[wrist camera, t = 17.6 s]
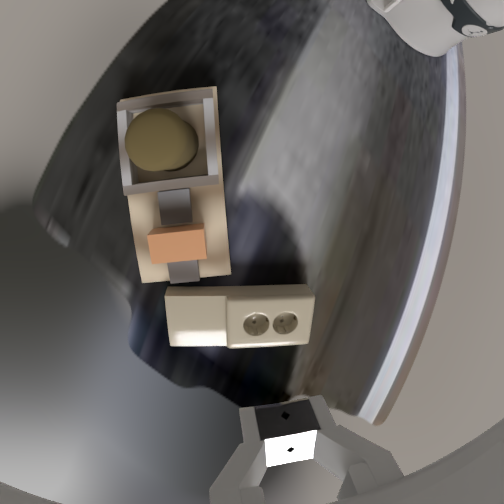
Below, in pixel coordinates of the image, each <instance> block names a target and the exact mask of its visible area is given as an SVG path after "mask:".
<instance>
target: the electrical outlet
mask: <svg viewBox="0 0 504 504" xmlns="http://www.w3.org/2000/svg"><path fill="white" fill-rule="evenodd" d="M314 303H315V295H314V294H313V292H312V291H311V290H310V288H309V287H308V286H307V284H294V285H261V286H203V287H167V290H166V293H165V305H166V314H167V323H168V332H169V340H170V346H227V347H228V348H252V347H271V346H286V345H299V344H307V343H309V338H310V332H311V325H312V318H313V311H314Z"/></svg>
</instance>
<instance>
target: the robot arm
mask: <svg viewBox="0 0 504 504" xmlns="http://www.w3.org/2000/svg"><path fill="white" fill-rule="evenodd" d="M367 3H368V4H369V6H370V7H371V8H373V9H374V10H375V11H376V12H378V13H379V14H380V15H382V16H383V17H384V18H385V19H386V20H387V21H388V23H389V24H390V25H391V27H392V28H393V29H394V30H395V32H396V33H397V34H398V35H399V36H400V37H401V38H402V39H403V40H404V41H405V42H406V43H408V44H409V45H410V46H411V47H413V48H414V49H416V50H417V51H419V52H421V53H423V54H426V55H429V56H434V57H437V56H442V55H444V54H446V53H447V52H448V51H449V50H450V49H451V48H452V47H453V46H455V45H456V44H458V43H460V42H461V41H463V40H465V39H467V38H469V37H477V36H482V35H485V34H490V33H493V32H496V31H500V30H502V29H503V28H504V0H367ZM239 410H240V419H241V426H242V433H243V440H244V443H241V444H239V446H238V448H237V449H236V450H235V452H234V454H233V455H232V457H231V458H230V460H229V461H228V463H227V464H226V466H225V467H224V469H223V470H222V472H221V473H220V474H219V476H218V477H217V479H216V480H215V482H214V483H213V485H212V486H211V488H210V489H209V491H210V492H209V494H210V504H265V499H264V494H263V490H262V488H260V487H258V486H259V484H260V482H261V480H262V477H263V475H264V473H265V471H266V469H267V466H272V465H278V464H283V463H288V462H293V461H299V460H304V459H309V458H313V459H314V460H315V461H316V462H318V463H319V464H320V465H321V466H323V467H324V468H325V469H327V470H328V471H329V472H331V473H332V474H333V475H335V476H336V477H337V478H339V479H340V480H341V481H343V484H342V486H341V489H340V491H339V493H338V496H337V499H338V501H335V502H332V503H329V504H504V419H502V420H501V421H499V422H498V423H497V424H495V425H494V426H492V427H491V428H490V429H488V430H487V431H485V432H484V433H482V434H481V435H479V436H478V437H477V438H475V439H473V440H472V441H470V442H469V443H467V444H465V445H464V446H462V447H461V448H459V449H457V450H455V451H454V452H452V453H450V454H448V455H447V456H445V457H443V458H441V459H439V460H437V461H436V462H434V463H432V464H430V465H428V466H426V467H424V468H422V469H420V470H418V471H416V472H413V473H411V474H409V475H407V476H405V477H404V475H403V473H402V472H401V470H400V468H399V467H398V465H397V463H396V461H395V459H394V458H393V456H392V454H391V452H390V451H388V450H386V449H384V448H382V447H380V446H378V445H376V444H374V443H372V442H371V441H368V440H367V439H365V438H363V437H361V436H359V435H357V434H356V433H354V432H352V431H350V430H348V429H347V428H344V427H343V426H341V425H338V426H336V424H335V422H334V420H333V417H332V415H331V413H330V411H329V409H328V407H327V404H326V402H325V400H324V398H323V396H322V395H318V396H313V397H309V398H303V399H298V400H294V401H288V402H282V403H278V404H271V405H263V406H254V407H246V408H239ZM0 504H61V503H57V502H54V501H51V500H47V499H44V498H41V497H38V496H35V495H32V494H29V493H27V492H24V491H22V490H19V489H17V488H14V487H12V486H9V485H7V484H5V483H2V482H0Z"/></svg>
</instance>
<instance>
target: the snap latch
mask: <svg viewBox="0 0 504 504" xmlns="http://www.w3.org/2000/svg"><path fill="white" fill-rule="evenodd" d="M147 239H148V245H149V251H150V257H151V262H152V264H159V263H169V262H179V261H189V260H199V259H207V244H206V235H205V226H204V223H200V224H190V225H181V226H172V227H163V228H155V229H152V230H151V231H150V232H149V234H148V235H147Z"/></svg>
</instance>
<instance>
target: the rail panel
mask: <svg viewBox="0 0 504 504" xmlns="http://www.w3.org/2000/svg"><path fill="white" fill-rule="evenodd" d="M154 108H164V109H169V110H171V111H173V112H174V113H176V114H178V116H179V117H180V118H181V119H182V120H184V121H186V122H187V123H189V124H190V125H191V126H192V127H193V128H194V129H195V131H196V133H197V135H198V140H199V147H198V152H197V155H196V156H195V158H194V160H193V161H192V162H191V163H190V164H189V165H188V166H187V167H185V168H183V169H181V170H178V171H171V172H169V171H164V170H161V171H154V172H153V171H148V170H143V169H142V168H140V167H138V166H136V165H135V164H134V163H133V162H132V161H131V159H130V158H129V157H128V154H127V152H126V149H125V140H124V139H125V134H126V130H127V128H128V126H129V125H130V123H131V121H132V120H133V119H134V118H135V117H136V116H137V115H138V114H140V113H142V112H144V111H146V110H148V109H154ZM117 122H118V139H119V152H120V164H121V174H122V183H123V192H124V196H126V195H128V202H129V209H130V216H131V223H132V230H133V236H134V242H135V248H136V253H137V259H138V264H139V269H140V274H141V279H142V283H148V282H159V281H170V283H171V284H172V283H183V282H193V281H200V278H201V277H211V276H221V275H231V267H230V257H229V246H228V234H227V223H226V211H225V199H224V187H223V174H222V161H221V147H220V133H219V118H218V102H217V86H213V87H202V88H192V89H183V90H175V91H168V92H161V93H155V94H148V95H143V96H137V97H132V98H127V99H122V100H120V102H118V103H117ZM200 223H204V226H205V235H206V244H207V259H199V260H189V261H179V262H169V263H159V264H152V262H151V257H150V251H149V245H148V239H147V235H148V234H149V232H150V231H151V230H152V229H155V228H163V227H172V226H181V225H190V224H200Z"/></svg>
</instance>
